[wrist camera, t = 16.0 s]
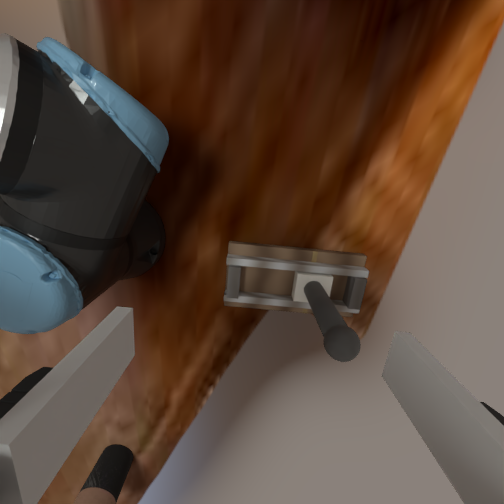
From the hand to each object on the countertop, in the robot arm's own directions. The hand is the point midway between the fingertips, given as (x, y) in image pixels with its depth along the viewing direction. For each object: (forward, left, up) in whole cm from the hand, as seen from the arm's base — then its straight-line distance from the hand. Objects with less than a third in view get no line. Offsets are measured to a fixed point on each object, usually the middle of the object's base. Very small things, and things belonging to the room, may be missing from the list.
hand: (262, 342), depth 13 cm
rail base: (+12, +2, -33) cm, 35 cm away
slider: (+13, +5, -31) cm, 34 cm away
